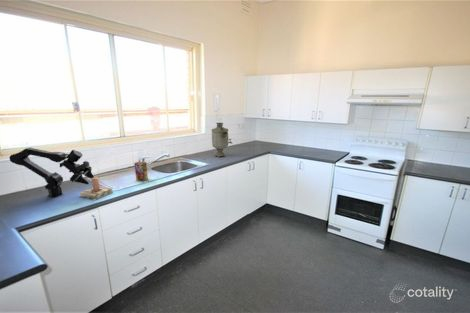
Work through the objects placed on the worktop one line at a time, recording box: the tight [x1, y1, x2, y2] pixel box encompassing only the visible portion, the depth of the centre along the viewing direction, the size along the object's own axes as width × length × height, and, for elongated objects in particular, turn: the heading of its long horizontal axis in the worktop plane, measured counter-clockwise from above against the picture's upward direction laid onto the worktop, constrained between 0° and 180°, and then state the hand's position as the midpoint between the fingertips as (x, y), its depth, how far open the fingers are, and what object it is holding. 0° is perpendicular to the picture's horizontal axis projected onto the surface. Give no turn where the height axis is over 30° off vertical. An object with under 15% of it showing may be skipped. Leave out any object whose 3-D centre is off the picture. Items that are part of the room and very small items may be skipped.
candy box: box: [134, 160, 149, 181], centre depth 193 cm, size 9×4×15 cm, turn 104°
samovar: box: [211, 122, 233, 159], centre depth 274 cm, size 30×26×40 cm
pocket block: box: [79, 185, 114, 200], centre depth 164 cm, size 14×14×3 cm
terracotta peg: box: [91, 176, 100, 192], centre depth 163 cm, size 4×4×12 cm
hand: (91, 181), depth 161 cm, fingers open, 9 cm apart
